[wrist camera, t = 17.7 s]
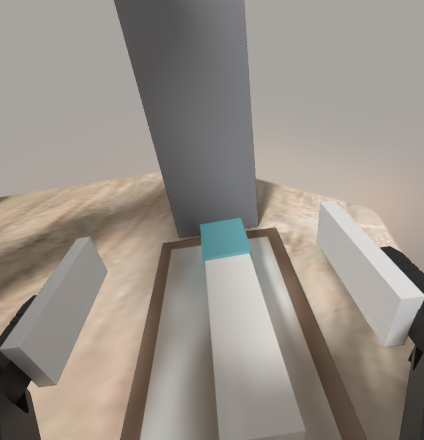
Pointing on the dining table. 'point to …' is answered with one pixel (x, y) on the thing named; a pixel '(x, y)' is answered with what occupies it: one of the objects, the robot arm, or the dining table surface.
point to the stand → (196, 104)
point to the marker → (244, 343)
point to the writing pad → (203, 358)
